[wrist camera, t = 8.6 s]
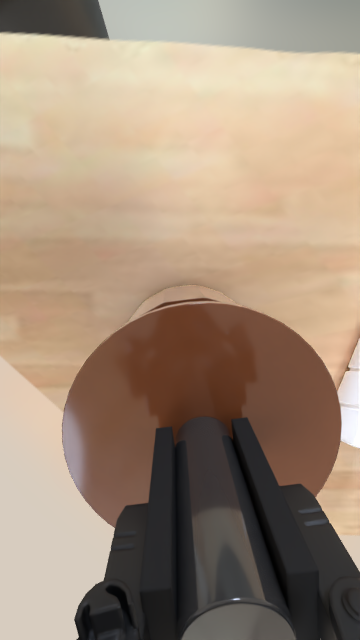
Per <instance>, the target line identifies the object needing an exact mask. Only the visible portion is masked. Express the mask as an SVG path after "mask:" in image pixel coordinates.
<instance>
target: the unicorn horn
mask: <svg viewBox="0 0 360 640" xmlns="http://www.w3.org/2000/svg"><path fill="white" fill-rule="evenodd" d="M348 367H349V368H350V370H349V371H346V372H345V375H344V377H343V380H342V382H341V384H340V387H339V389H338V391H337V394H338V398H339V403H340V407H341V421H342V427H341V441H343V442H345V443H347V444H349V445H351V446H354V447H356V448H359V449H360V338H359V341H358V343H357V345H356V348H355V350H354V353H353V355H352V358H351V360H350V363H349V365H348Z"/></svg>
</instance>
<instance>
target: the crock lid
mask: <svg viewBox="0 0 360 640" xmlns="http://www.w3.org/2000/svg"><path fill="white" fill-rule="evenodd" d="M245 417H247V418H248V420H249V422H250V424H251V426H252V428H253V431H254V433H255V435H256V437H257V439H258V441H259V443H260V446H261V448H262V450H263V452H264V454H265V456H266V458H267V460H268V463H269V465H270V467H271V469H272V471H273V473H274V475H275V478H276V480H277V482H278V484H279V486H284V485H292V484H302V485H303V486H304V487H305V488H306V489H308V490H309V491H310V492H311V493H312V494H313V495H314V496H315V497H316V496H317V494H318V493H319V492H320V490H321V489H322V487H323V486H324V484H325V482H326V480H327V478H328V477H329V475H330V473H331V471H332V468H333V466H334V463H335V460H336V457H337V454H338V449H339V445H340V440H341V427H342V421H341V407H340V403H339V398H338V394H337V390H336V388H335V385H334V382H333V380H332V377H331V375H330V373H329V371H328V370H327V368H326V366H325V364H324V363H323V361H322V359H321V358H320V357H319V356H318V354H317V353H316V352H315V351H314V349H313V348H312V347H311V346H310V345H309V344H308V343H307V342H306V341H305V340H304V339H303V338H302V337H301V336H300V335H299V334H297V333H296V332H295V331H293V330H292V329H290V328H289V327H287V326H286V325H285V324H283V323H282V322H280V321H278V320H276V319H274V318H272V317H270V316H268V315H266V314H264V313H262V312H260V311H257V310H254V309H251V308H248V307H245V306H241V305H236V304H232V303H227V302H215V301H195V302H184V303H179V304H173V305H168V306H165V307H162V308H159V309H156V310H153V311H150V312H147V313H145V314H143V315H141V316H139V317H137V318H135V319H133V320H131V321H129V322H128V323H126V324H125V325H123V326H122V327H120V328H119V329H117V330H116V331H115V332H113V333H112V334H111V335H110V336H109V337H108V338H106V339H105V340H104V341H103V342H102V343H101V344H100V345H99V346H98V347H97V349H96V350H95V351H94V352H93V353H92V354H91V356H90V357H89V358H88V359H87V360H86V362H85V363H84V365H83V366H82V368H81V369H80V371H79V373H78V374H77V376H76V378H75V380H74V382H73V384H72V387H71V389H70V391H69V394H68V398H67V401H66V404H65V408H64V415H63V423H62V442H63V448H64V455H65V459H66V462H67V465H68V469H69V472H70V474H71V476H72V479H73V481H74V483H75V485H76V487H77V489H78V490H79V491H80V493H81V495H82V496H83V498H84V499H85V501H86V502H87V503H88V504H89V505H90V506H91V507H92V509H93V510H94V511H95V512H96V513H97V514H98V515H99V516H100V517H102V518H103V519H104V520H105V521H106V522H107V523H108V524H110V525H112V526H113V527H114V528H115V527H116V522H117V519H118V517H119V515H120V514H121V512H122V511H123V509H124V507H125V506H126V505H135V504H143V503H148V501H149V491H150V482H151V472H152V462H153V452H154V443H155V433H156V428H163V427H171V426H172V430H173V437H174V444H175V495H176V601H177V640H296V630H295V627H294V624H293V621H292V618H291V615H290V612H289V609H288V606H287V603H286V600H285V597H284V594H283V591H282V588H281V585H280V582H279V578H278V575H277V572H276V569H275V566H274V563H273V560H272V557H271V554H270V551H269V548H268V545H267V542H266V539H265V536H264V533H263V530H262V527H261V524H260V521H259V518H258V515H257V512H256V509H255V506H254V503H253V500H252V497H251V494H250V491H249V488H248V485H247V482H246V479H245V476H244V473H243V470H242V467H241V464H240V460H239V457H238V454H237V451H236V448H235V445H234V442H233V434H232V423H231V419H237V418H245Z"/></svg>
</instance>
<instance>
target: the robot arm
mask: <svg viewBox="0 0 360 640" xmlns="http://www.w3.org/2000/svg"><path fill="white" fill-rule="evenodd" d="M231 423H232V434H233V442H234V445H235V448H236V451H237V454H238V457H239V460H240V464H241V467H242V470H243V473H244V476H245V479H246V482H247V485H248V488H249V491H250V494H251V497H252V500H253V503H254V506H255V509H256V512H257V515H258V518H259V521H260V524H261V527H262V530H263V533H264V536H265V539H266V542H267V545H268V548H269V551H270V554H271V557H272V560H273V563H274V566H275V569H276V572H277V575H278V578H279V582H280V585H281V588H282V591H283V594H284V597H285V600H286V603H287V606H288V609H289V612H290V615H291V618H292V621H293V624H294V627H295V630H296V640H320V639H321V640H360V572H359V570H358V568H357V567H356V565H355V563H354V562H353V560H352V558H351V557H350V555H349V553H348V552H347V550H346V549H345V547H344V545H343V543H342V542H341V540H340V538H339V537H338V535H337V533H336V532H335V530H334V528H333V527H332V525H331V524H330V523H329V520H328V518H327V517H326V515H325V513H324V511H322V508H321V506H320V505H319V503H318V501H317V500H316V498H315V496H314V495H313V494H312V493H311V492H310V491H309V490H308V489H306V488H305V487H304V486H303V485H302V484H292V485H284V486H279V484H278V482H277V480H276V478H275V475H274V473H273V471H272V469H271V467H270V465H269V463H268V460H267V458H266V456H265V454H264V452H263V450H262V448H261V446H260V443H259V441H258V439H257V437H256V435H255V433H254V431H253V428H252V426H251V424H250V422H249V420H248V418H247V417H245V418H237V419H231ZM74 620H75V624H76V627H77V631H78V635H79V638H78V639H77V640H177V601H176V495H175V444H174V437H173V430H172V426H171V427H163V428H156V433H155V443H154V452H153V462H152V472H151V482H150V491H149V501H148V503H143V504H135V505H126V506H125V507H124V509H123V511H122V512H121V514H120V515H119V517H118V519H117V522H116V527H115V531H114V538H113V541H112V545H111V551H110V555H109V559H108V564H107V568H106V573H105V578H104V581H102V582H100V583H98V584H96V585H95V586H94V587H93V588H92V589H91V590H90V591H89V592H87V594H86V595H85V597H84V598H83V600H82V601H81V603H80V604H79V606H78V609H77V613H76V616H75V619H74Z"/></svg>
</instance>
